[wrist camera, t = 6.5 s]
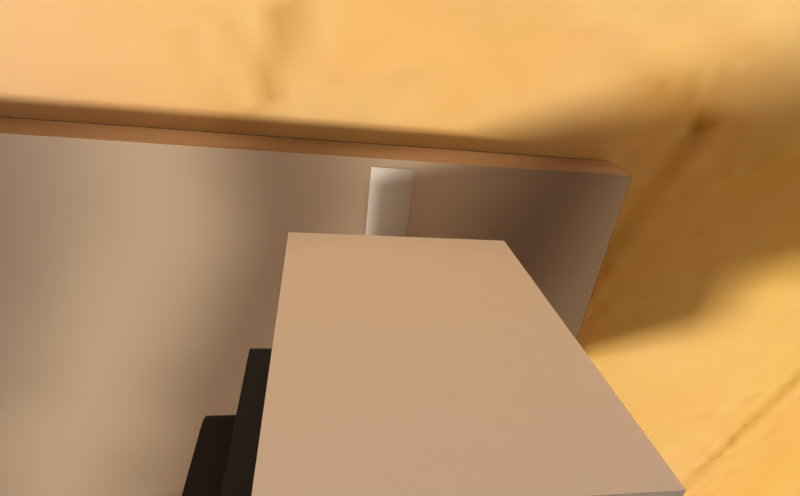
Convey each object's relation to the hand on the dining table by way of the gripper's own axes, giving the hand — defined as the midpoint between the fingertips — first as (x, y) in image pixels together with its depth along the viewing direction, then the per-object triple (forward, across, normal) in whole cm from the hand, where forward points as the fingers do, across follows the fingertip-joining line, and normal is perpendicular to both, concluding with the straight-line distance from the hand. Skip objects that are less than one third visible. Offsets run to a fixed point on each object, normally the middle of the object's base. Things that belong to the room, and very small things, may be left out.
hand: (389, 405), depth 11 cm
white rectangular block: (+1, 0, 0) cm, 1 cm away
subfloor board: (+4, +4, +4) cm, 7 cm away
